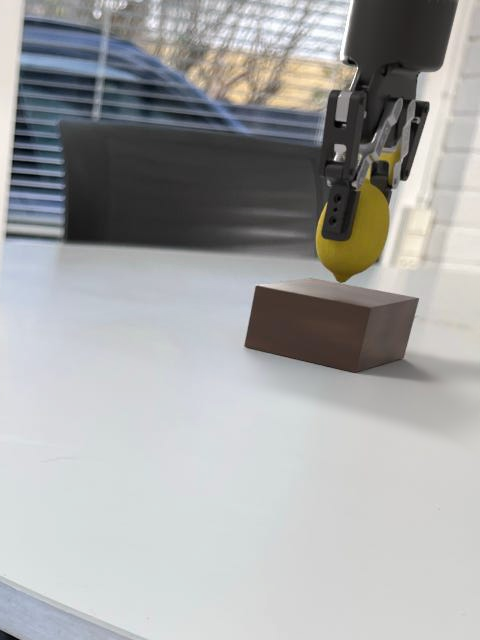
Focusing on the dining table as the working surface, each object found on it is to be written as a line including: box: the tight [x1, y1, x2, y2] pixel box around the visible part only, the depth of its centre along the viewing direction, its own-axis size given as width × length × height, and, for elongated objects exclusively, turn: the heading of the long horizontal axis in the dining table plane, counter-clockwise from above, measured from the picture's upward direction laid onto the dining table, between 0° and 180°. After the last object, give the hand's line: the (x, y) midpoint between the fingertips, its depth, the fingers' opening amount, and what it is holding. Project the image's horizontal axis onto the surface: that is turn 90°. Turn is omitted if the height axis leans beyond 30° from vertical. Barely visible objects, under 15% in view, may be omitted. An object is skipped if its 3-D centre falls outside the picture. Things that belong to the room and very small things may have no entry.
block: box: [243, 277, 420, 373], centre depth 88 cm, size 10×10×5 cm
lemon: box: [315, 178, 391, 284], centre depth 85 cm, size 6×6×8 cm
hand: (351, 237), depth 85 cm, fingers closed on lemon, 5 cm apart
